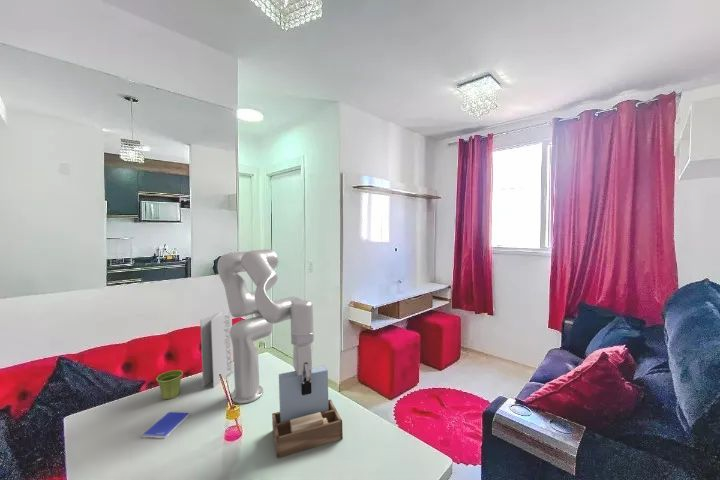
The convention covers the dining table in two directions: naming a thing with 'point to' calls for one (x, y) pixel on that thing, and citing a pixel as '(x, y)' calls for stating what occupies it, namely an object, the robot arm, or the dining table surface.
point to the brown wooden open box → (306, 433)
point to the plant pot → (170, 383)
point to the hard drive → (166, 425)
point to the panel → (300, 404)
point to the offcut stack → (307, 422)
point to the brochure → (216, 347)
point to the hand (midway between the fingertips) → (303, 387)
